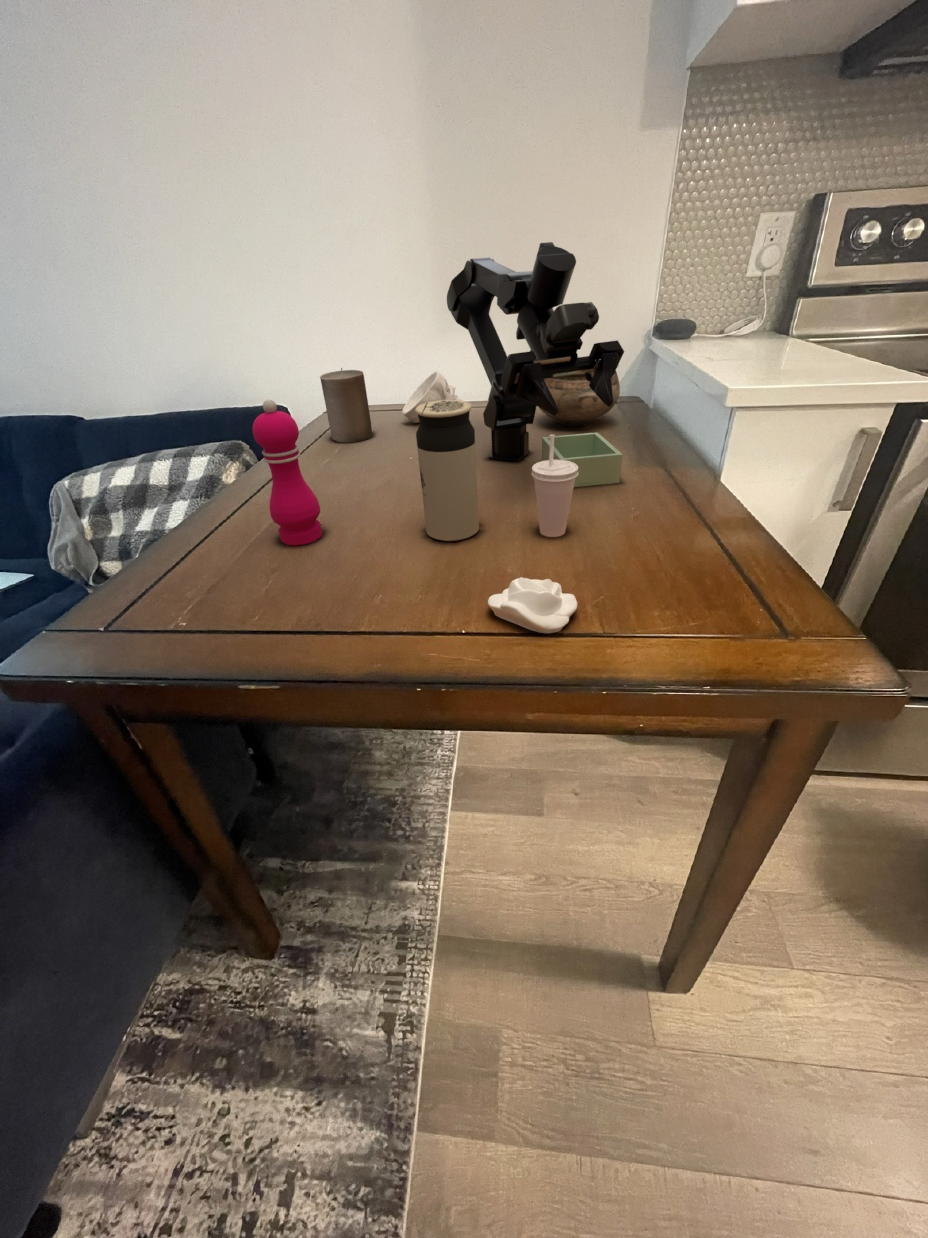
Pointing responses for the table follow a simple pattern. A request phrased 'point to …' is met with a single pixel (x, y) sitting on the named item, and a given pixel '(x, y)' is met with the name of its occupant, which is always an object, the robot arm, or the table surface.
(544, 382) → the robot arm
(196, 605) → the table surface
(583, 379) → the cooking pot
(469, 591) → the table surface
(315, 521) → the pepper mill
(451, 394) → the skull bowl
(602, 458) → the bin
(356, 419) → the pillar candle
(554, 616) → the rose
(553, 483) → the smoothie
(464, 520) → the travel mug
